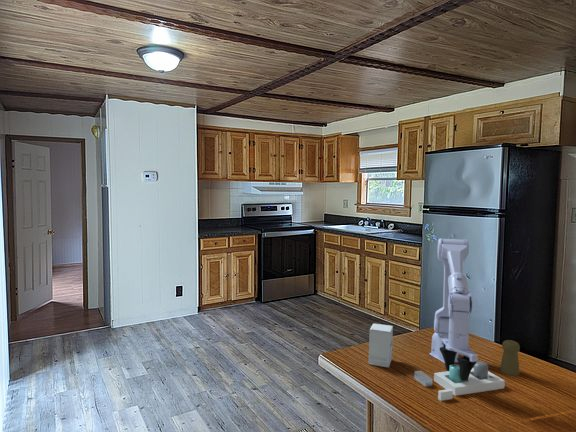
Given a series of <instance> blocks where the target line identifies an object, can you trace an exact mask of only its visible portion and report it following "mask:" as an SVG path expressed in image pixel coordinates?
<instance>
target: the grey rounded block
mask: <svg viewBox="0 0 576 432" xmlns="http://www.w3.org/2000/svg"><path fill="white" fill-rule="evenodd" d="M473 368H474V377H476V378H478V379H479V380H483V379H488V371H489V364H488V363H486V362H484V361H481V360H480V361H478V360H477V362H476V364H475V365H474V366H473Z"/></svg>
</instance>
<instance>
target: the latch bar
mask: <svg viewBox="0 0 576 432" xmlns="http://www.w3.org/2000/svg"><path fill="white" fill-rule="evenodd" d="M413 375H414V376H413V379H415V380H416V381H417V382H419V383H420V384H421V385H422V386H424V387H426V388H429V387H433V378H432V376H431V377H430V375H428V374H426V373H425V372H424V371H422V370H416V371H414V373H413Z"/></svg>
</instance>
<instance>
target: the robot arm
mask: <svg viewBox="0 0 576 432" xmlns="http://www.w3.org/2000/svg"><path fill="white" fill-rule="evenodd" d="M469 251H470V245H469V241H468V239H458V238H457V239H453V238H441V237H440V238H439V239H438V240H437V260H438V261H439V262H441V263H442V265H443V289H442V290H443V293H442V294H443V295H442V296H443V297H442V298H443V299H442V307H440V308H439V309H437V310H435V312H434V319H433V330H434V333H433V334H432V336H431V350H430V351H431V352H429V355H430V356H432V358H435V359H438V360H439V361H441V362H442V363H443V364H444V366H445V370H446V371H449V368H450V365H452V364H455V363H458V365H459V367H460V379H461V380H462V381H465V380H468V378H469V375H470V372H471V370H472V368H474V365H475V364H476V362H477V361H478V357H479V356H478V354H477V353H476V352H474V351H473V350H472V348H470V347H469V335H470V316H471V315H470V314H472V313H473V304H474V303H473V296H472V294H471V291H469V285H468V277H467V276H466V275H465V274H463V268H464V267H463V262H465V260H467V258H468V255H469ZM459 355H461V357H459ZM446 371H445V372H446Z"/></svg>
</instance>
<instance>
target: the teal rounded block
mask: <svg viewBox="0 0 576 432" xmlns="http://www.w3.org/2000/svg"><path fill="white" fill-rule="evenodd" d="M449 380H451V381H452V382H454V383H462V382H463V381H462V380H461V379H460V367H459V364H455V363H454V364H452V365H450V368H449Z"/></svg>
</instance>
